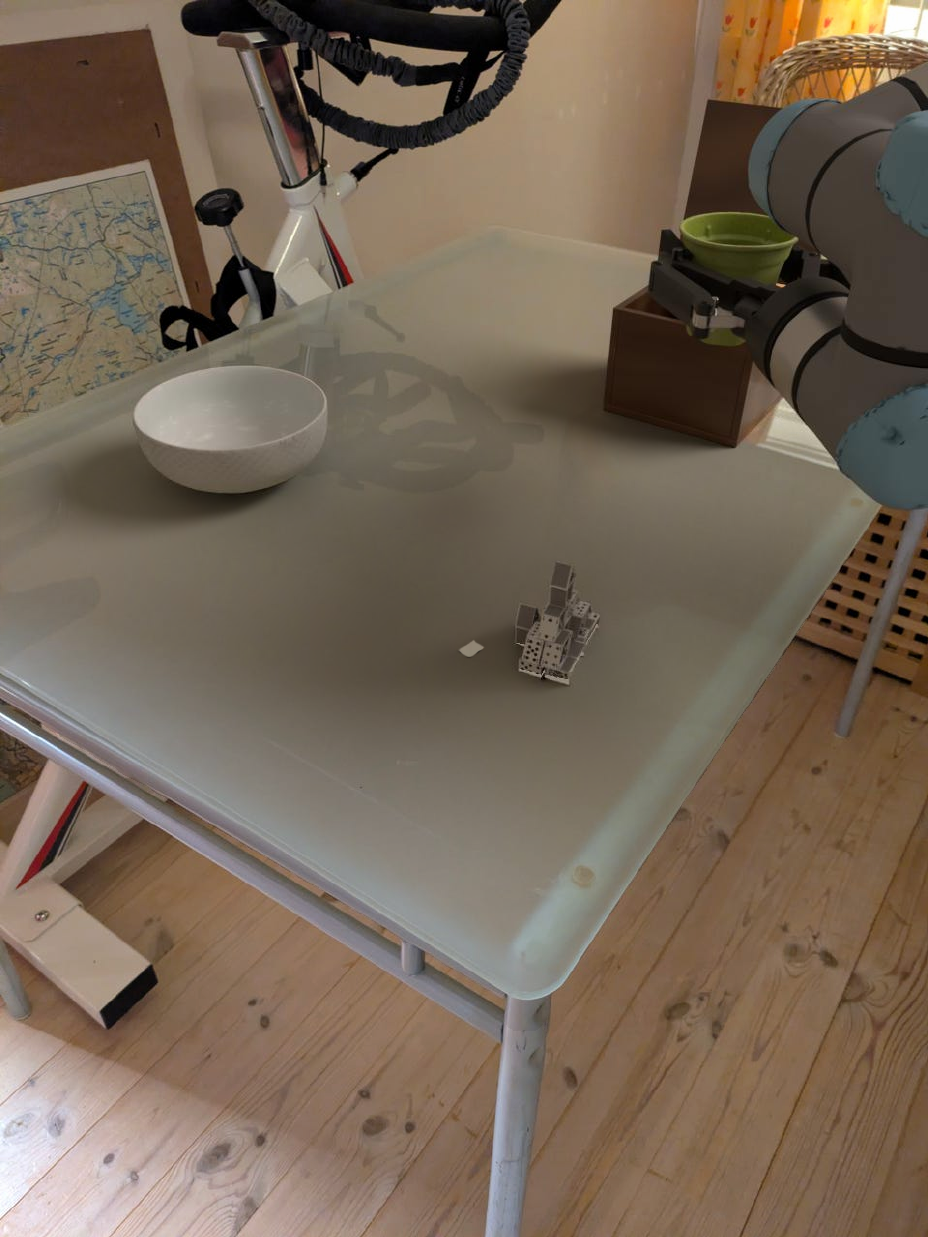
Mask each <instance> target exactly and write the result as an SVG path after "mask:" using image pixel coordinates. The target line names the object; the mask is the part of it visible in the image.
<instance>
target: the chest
mask: <svg viewBox="0 0 928 1237" xmlns="http://www.w3.org/2000/svg"><path fill="white" fill-rule="evenodd" d="M647 293H648V284H647V285H646V286H644V287H643V288H641V289H639V290H638V291H636V292H635V293H634V294H632V295H630V296H629V297H628V298H626V299H625V300H623V301H621V302H620V303H619V304H617V305H615V306H614V307H613V308H612V314H611V324H610V333H609V343H608V352H607V354H608V355H607V364H606V375H605V383H604V392H603V393H604V394H603V406H602V410H603V411H606V412H609V413H614V414H617V415H620V416H624V417H627V418H630V419H633V420H637V421H641V422H645V423H648V424H652V425H655V426H659V427H663V428H665V429H669V430H673V431H676V432H680V433H683V434H687V435H690V436H693V437H697V438H701V439H704V440H708V441H711V442H715V443H719V444H722V445H725V446H729V447H732V448H737V447H738V446H739V445H740V444H741V443H742V442H743V441H744V440H745V438H747V436H748V435H750V433H751V432H752V431H753V430H754V429H755V428H756V427H757V426H758V425H759V424H760V423H761V422H762V421H763V420H764V418H765V417H766V416H767V415H768V414H769V413H771V411H772V410H773V409H774V408H775V407H776V406H777V405H778V404H779V403H780V402H781V401H782V399H784V398H783V397H782V395H781V394H780V393H779V392H778V390H776V389H775V388H774V387H773V386H772V385H771V383H770V382H769V381H768V380H767V379H766V377H765V376H764V375H763V374H762V373H761V371H760V370H759V369H758V368H757V366H756V365H755V363H754V361H753V359H752V357H751V354H750V351H749V348H748V345H747V342H746V341H745V342H743V343H742V344H740V345H735V346H725V345H712V344H708V343H705V342H702V341H701V340H700V339H698V338H695V337H693V336H690V335H689V334H688V332H687V329H686V324H685V323H684V322H682V321H681V320H680V319H678V318H677V317H676V316H675V315H673V314H672V313H671V312H669V311H668V310H667V309H666V308H664V307H663V306H662V305H660V304H659V303H658V302H656V301H655V300H654V299H653V298H651V297H650V296H649V295H648V294H647Z"/></svg>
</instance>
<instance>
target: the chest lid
mask: <svg viewBox="0 0 928 1237" xmlns="http://www.w3.org/2000/svg"><path fill="white" fill-rule="evenodd" d="M783 108H784V107H778V106H769V105H762V104H753V103H752V104H751V103H744V102H735V101H727V100H719V99H710V98H709V99H707V100H706V107H705V110H704V114H703V120H702V125H701V129H700V135H699V139H698V146H697V149H696V156H695V160H694V165H693V169H692V175H691V180H690V185H689V190H688V195H687V200H686V205H685V210H684V215H683V220H682V221H684V220H685V219H688V218H690V217H693V216H697V215H701V214H708V213H717V212H740V213H753V214H759V215H764V216H768V215H767V214H766V213H765V212H764V211H763V210H762V209H761V207H760V206H759V205H758V204H757V202H756V201H755V199H754V197H753V195H752V193H751V189H750V188H749V186H748V185H749V177H748V166H749V159H750V154H751V151H752V148H753V145H754V143H755V141H756V139H757V137H758V135H759V134H760V132H761V130H762V129H763V128H764V126H765V125H766V124H767V123H768V121H769V120H770V119H771V118H772V117H773V116H774V115H775V114H776V113H777V112H779V111H780V110H782V109H783ZM679 239H680V240H681V242H682V243H683V244H684V239H683V236H682V235H681V233H680V235H679ZM796 244H797V245H798V246H801V247H803V248H805V249H806V250H807V251H808V252H817V251H816V250H814V249H813V248H812V247H810V246H809V245H807V244H806V243H804V242H803V241H801V240H800V239H799V240H798V241H797V242H796ZM817 253H819V252H817ZM799 279H800V278H799V277H798V279H797V280H799ZM776 285H783V286H785V285H787V284H786V283H785V282H784V281H783V280H782V279H781V278H780V277H779V278H778V281H777V284H776Z"/></svg>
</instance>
